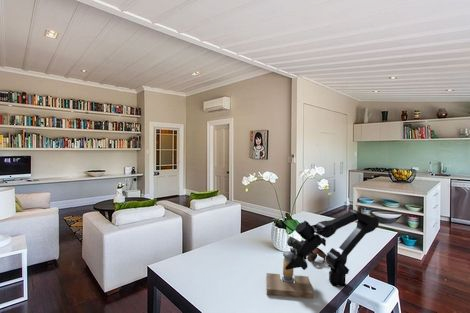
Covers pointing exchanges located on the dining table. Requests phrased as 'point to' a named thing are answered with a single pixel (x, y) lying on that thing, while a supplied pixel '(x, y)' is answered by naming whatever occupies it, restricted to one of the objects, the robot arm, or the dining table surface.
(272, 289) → the notched board
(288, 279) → the bobbin
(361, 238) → the robot arm
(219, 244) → the dining table surface
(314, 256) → the pottery mug
